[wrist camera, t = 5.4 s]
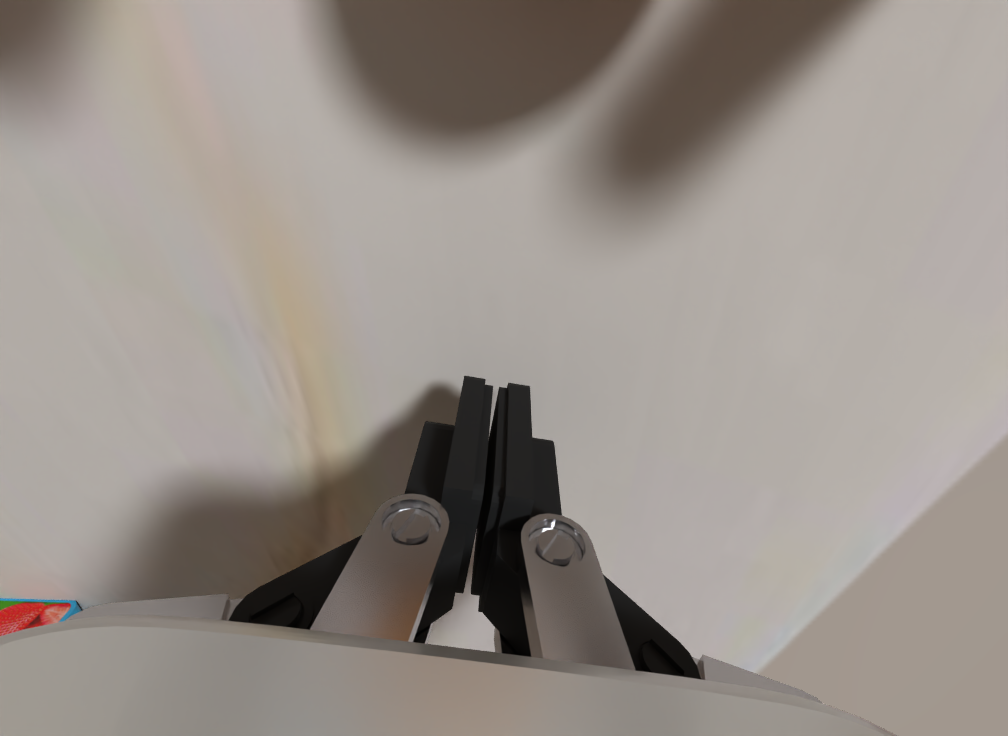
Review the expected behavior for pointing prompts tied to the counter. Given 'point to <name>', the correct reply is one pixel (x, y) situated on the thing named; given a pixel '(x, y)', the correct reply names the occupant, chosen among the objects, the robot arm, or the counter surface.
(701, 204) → the counter surface
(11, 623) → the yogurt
